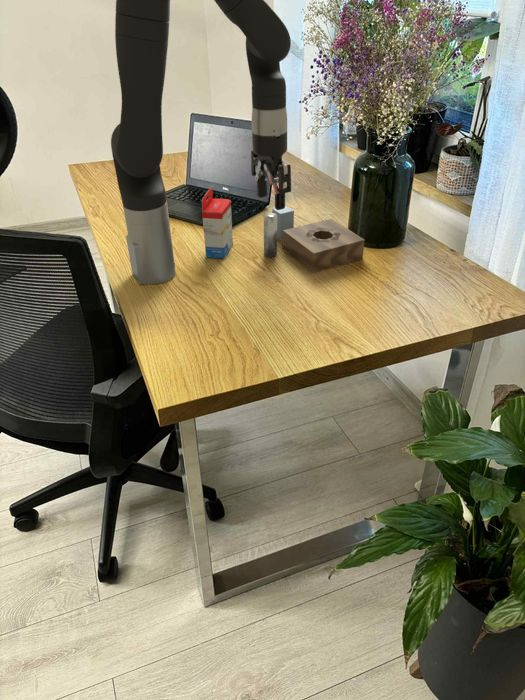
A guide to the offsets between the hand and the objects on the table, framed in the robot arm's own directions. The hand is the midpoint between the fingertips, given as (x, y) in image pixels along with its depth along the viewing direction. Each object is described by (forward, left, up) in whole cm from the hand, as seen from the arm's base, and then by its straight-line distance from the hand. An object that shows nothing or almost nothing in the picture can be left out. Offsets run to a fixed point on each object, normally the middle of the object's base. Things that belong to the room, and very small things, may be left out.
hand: (270, 202), depth 125 cm
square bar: (+8, +8, -13) cm, 17 cm away
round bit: (0, 0, -13) cm, 13 cm away
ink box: (-10, +8, -13) cm, 19 cm away
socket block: (+11, -6, -13) cm, 18 cm away
